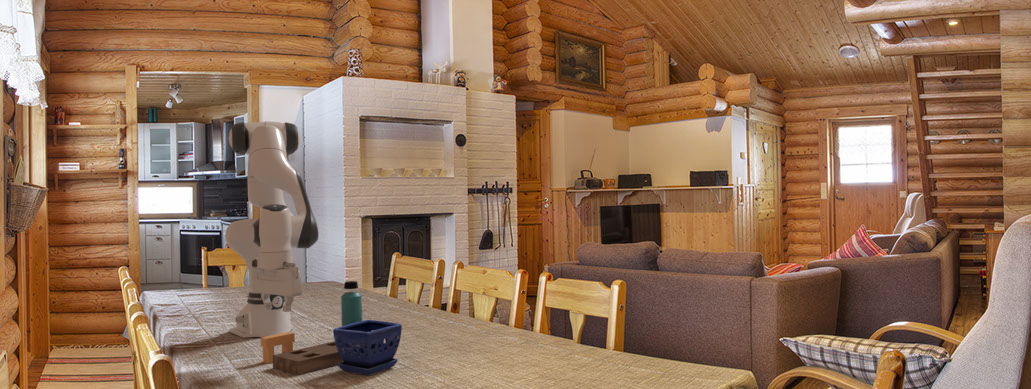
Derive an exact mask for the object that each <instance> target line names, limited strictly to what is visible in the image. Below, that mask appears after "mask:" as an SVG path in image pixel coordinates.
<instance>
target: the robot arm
mask: <svg viewBox="0 0 1031 389" xmlns="http://www.w3.org/2000/svg"><path fill="white" fill-rule="evenodd" d="M300 142H301V134H300V131H299V130H298V126H296V124H295V123H291V122H279V121H267V120H266V121H255V122H253V121H252V122H237V123H234V124H233V125H231V129H230V130H229V134H228V144H229V145H230V147H231V150H232V151H233V152H234V153H235V154H239V155H245V156H246V155H248V162H247V172H246V173H247V175H246V176H247V179H246V180H247V198H248V201H249V203H250V204H252V206H254V207H257V208H259V209H260V212H259V214H260V215H259V218H245V219H240V220H235V221H232V222H231V223H229V224H228V226H227V227H226V230H225V235H224V237H225V242H226V244H227V246H228V247H229V249H231V250H232V251H234V253H236V254H238V255H239V256H240V257H241V258H242V260H243V261H244V262H245V265H246V268H247V270H248V276H249V288H250V289H249V290H250V291H249V293H248V295H247V296H246V298H247V304H245V306H243V308H242V309H241V310H240V311H238V313H237V315H236V317H235V322H236V326H234V327H230V328H229V329H228V332H229V333H231V334H233V335H236V336H238V337H241V338H243V339H245V338H261V337H266V336H271V335H276V334H281V333H286V332H291V331H292V330H293V329H294V324H292V323H291V314H290V313H291V312H292V304H293V302H294V300H295V299H294V297H299V296H302V294H303V282H302V281H303V280H302V273H301V271H300V270H299V267H298V265H297V264H296V262H293V260H294V259H293V249H295V248H296V249H310V248H311V247H313V246H314V245H315V244H316V243H317V242H318V240H319V234H320V229H319V226H318V222H317V221H316V218H315V215H314V212H313V210H312V207H311V204H310V200H309V198H308V193H307V191H306V187H305V184H304V181H303V179H302V175H301V174H300V171H298V170H296V169H294V168H293V167H292V165H291V164H290V163H289V161H288V157H289V156H291V155H292V154H294V153H295V152H296V151H297V150H298V149H299V146H300ZM284 192H286V193H288V194H289V195H290V196H291V197H292V200H293V204H294V207H295V210H296V215H294V214H293V213H292V212H291V211H290V207H288V206H287V205H286V202H285V197H284Z"/></svg>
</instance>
